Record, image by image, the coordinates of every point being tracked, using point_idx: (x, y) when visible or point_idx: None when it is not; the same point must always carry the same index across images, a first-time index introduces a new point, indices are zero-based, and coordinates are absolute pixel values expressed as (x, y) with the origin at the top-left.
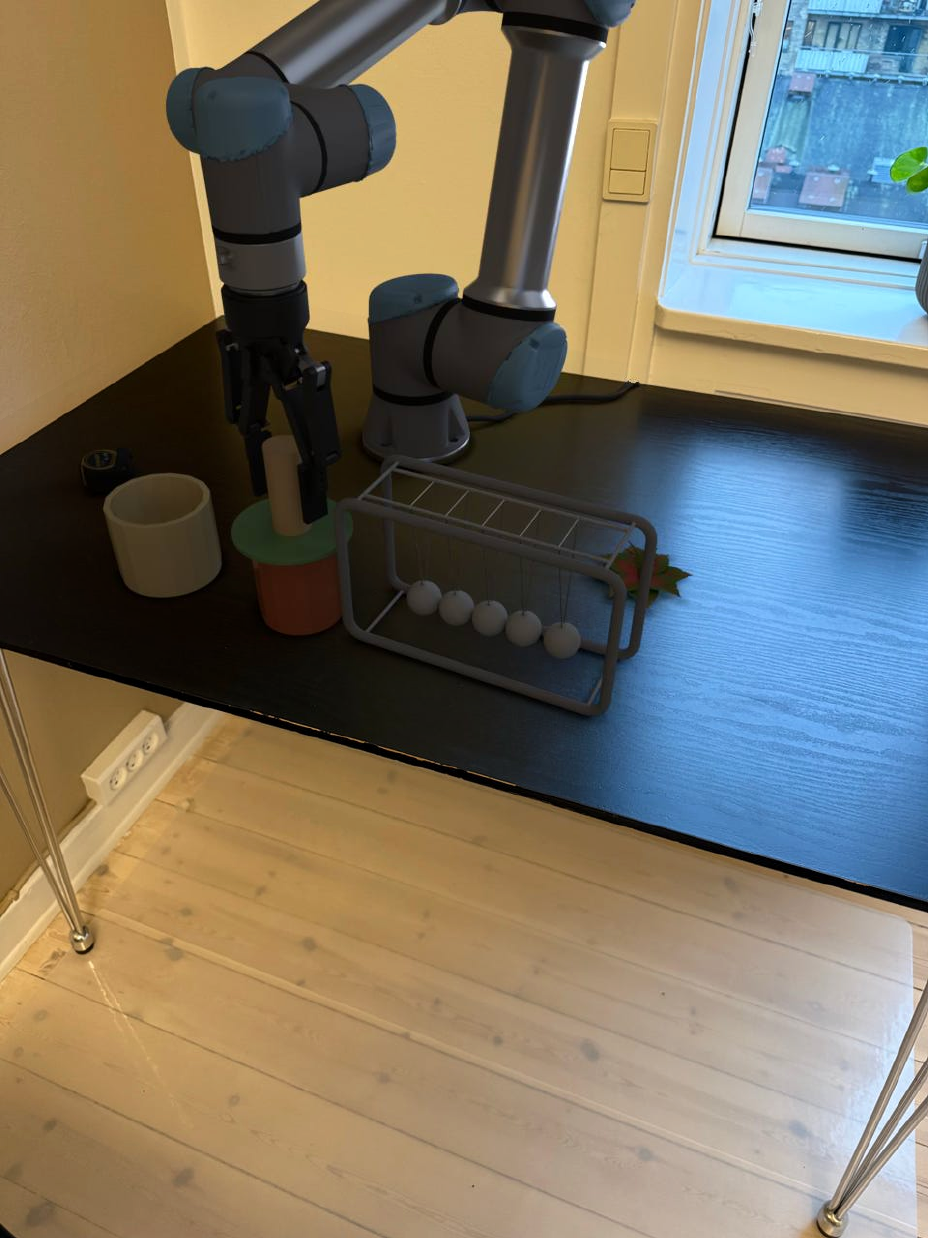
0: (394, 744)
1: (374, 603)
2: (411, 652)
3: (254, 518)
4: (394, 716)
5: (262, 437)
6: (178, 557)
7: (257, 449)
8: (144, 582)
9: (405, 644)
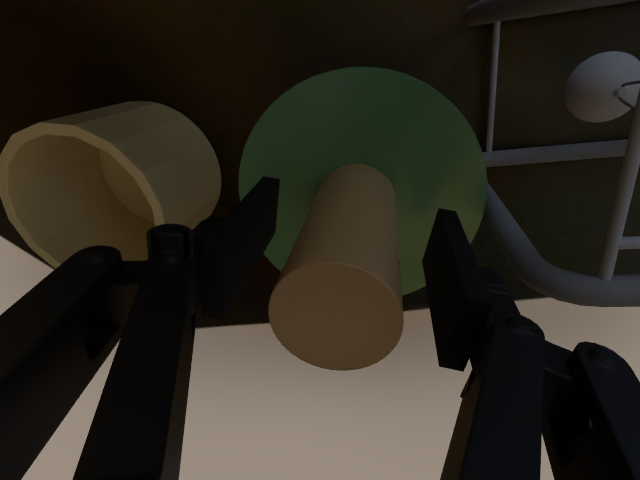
0: None
1: (458, 72)
2: (582, 158)
3: (278, 218)
4: (593, 253)
5: (226, 277)
6: (191, 227)
7: (238, 282)
8: None
9: (567, 149)
